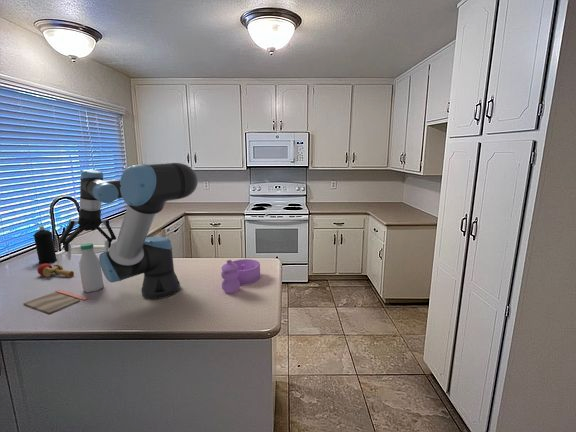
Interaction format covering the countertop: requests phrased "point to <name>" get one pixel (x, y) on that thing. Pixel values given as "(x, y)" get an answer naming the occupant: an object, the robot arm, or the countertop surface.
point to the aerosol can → (45, 246)
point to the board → (51, 302)
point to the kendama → (53, 270)
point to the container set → (239, 274)
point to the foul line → (71, 295)
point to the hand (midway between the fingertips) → (88, 256)
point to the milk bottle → (90, 269)
